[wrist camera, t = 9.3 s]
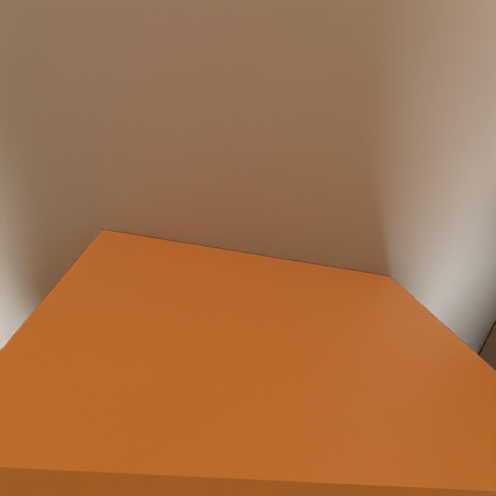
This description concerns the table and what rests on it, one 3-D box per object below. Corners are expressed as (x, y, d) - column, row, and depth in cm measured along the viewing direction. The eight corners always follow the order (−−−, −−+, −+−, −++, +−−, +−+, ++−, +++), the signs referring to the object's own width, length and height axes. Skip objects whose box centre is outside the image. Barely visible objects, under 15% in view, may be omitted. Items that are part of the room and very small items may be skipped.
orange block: (102, 229, 8) (-94, 462, 3) (389, 276, 10) (639, 498, 4) (82, 462, 11) (-47, 836, 5) (314, 474, 12) (409, 783, 7)
